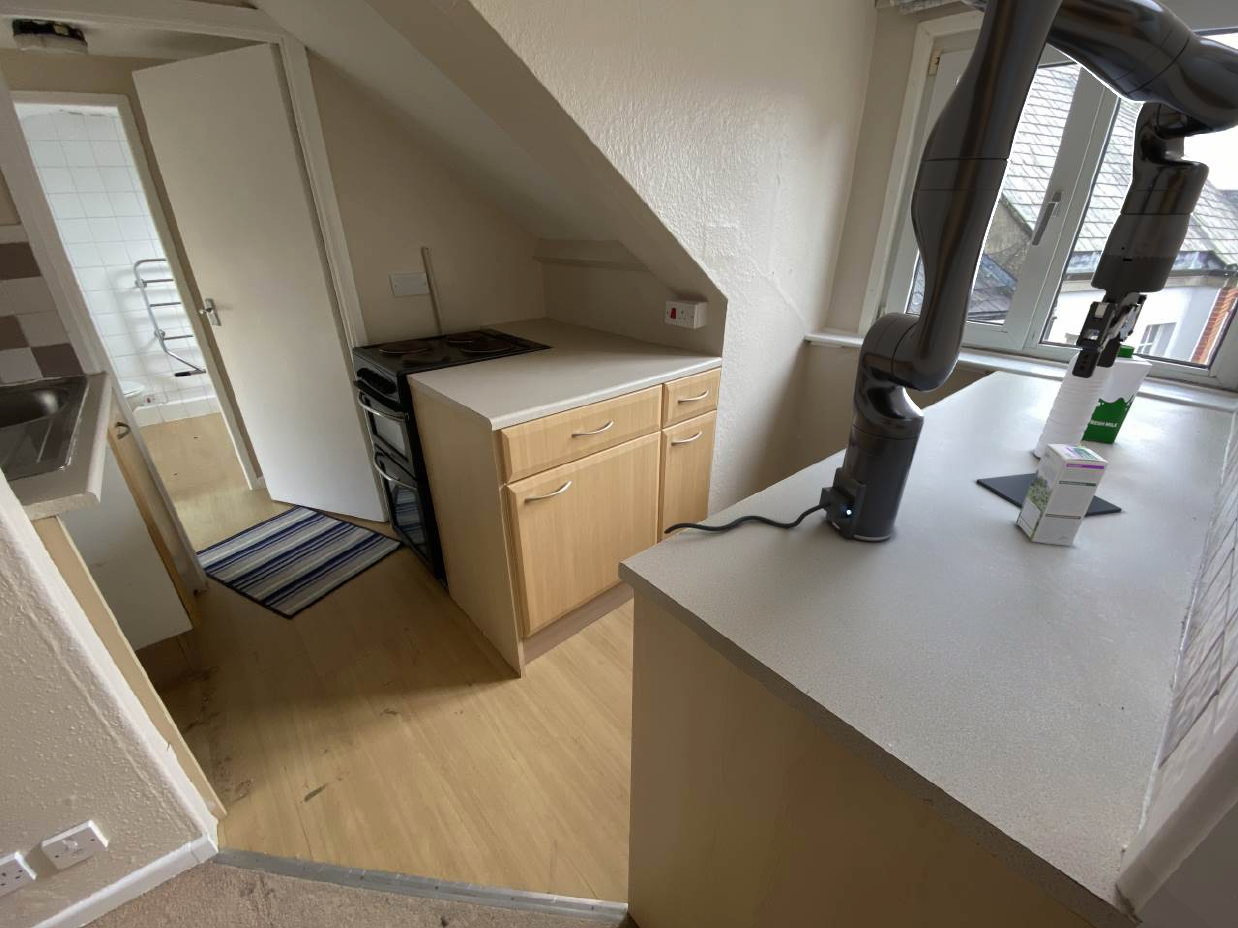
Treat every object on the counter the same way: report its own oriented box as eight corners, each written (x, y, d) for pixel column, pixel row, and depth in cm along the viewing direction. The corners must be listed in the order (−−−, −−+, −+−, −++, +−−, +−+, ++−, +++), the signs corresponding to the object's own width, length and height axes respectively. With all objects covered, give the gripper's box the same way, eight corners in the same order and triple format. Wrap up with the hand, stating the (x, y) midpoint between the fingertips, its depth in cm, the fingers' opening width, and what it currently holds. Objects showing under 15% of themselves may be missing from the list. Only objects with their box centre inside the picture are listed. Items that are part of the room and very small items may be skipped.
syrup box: (1072, 547, 81) (1113, 462, 74) (1029, 542, 82) (1065, 458, 75) (1053, 526, 86) (1089, 445, 79) (1012, 522, 87) (1045, 442, 80)
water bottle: (1073, 457, 110) (1126, 337, 99) (1069, 467, 106) (1124, 342, 94) (1023, 445, 115) (1068, 329, 104) (1017, 454, 111) (1064, 334, 100)
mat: (1044, 521, 87) (1046, 518, 87) (976, 482, 99) (977, 479, 99) (1120, 511, 90) (1122, 508, 90) (1045, 474, 103) (1046, 471, 102)
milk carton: (1104, 431, 123) (1143, 346, 114) (1120, 446, 115) (1163, 356, 106) (1059, 425, 126) (1093, 341, 117) (1071, 439, 118) (1110, 351, 109)
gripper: (1120, 248, 76) (1078, 358, 83) (1084, 253, 69) (1041, 374, 76) (1192, 250, 71) (1140, 369, 78) (1161, 257, 63) (1107, 387, 70)
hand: (1091, 371), depth 77 cm, fingers open, 8 cm apart
